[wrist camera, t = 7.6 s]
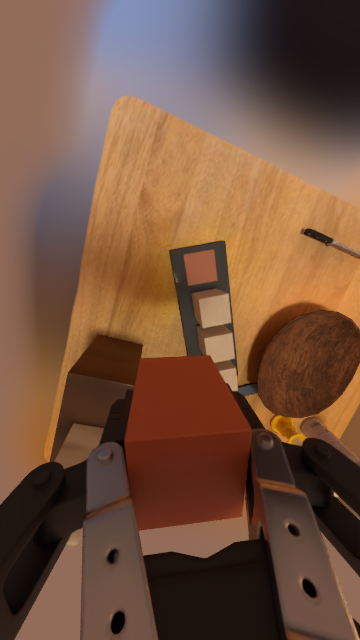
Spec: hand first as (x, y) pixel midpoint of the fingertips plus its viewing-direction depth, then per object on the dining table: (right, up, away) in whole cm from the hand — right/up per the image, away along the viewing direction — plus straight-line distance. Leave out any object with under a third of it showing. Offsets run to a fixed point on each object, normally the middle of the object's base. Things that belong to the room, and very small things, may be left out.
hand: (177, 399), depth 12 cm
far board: (+5, +5, +25) cm, 26 cm away
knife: (+28, +18, +25) cm, 41 cm away
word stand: (-13, -7, +27) cm, 31 cm away
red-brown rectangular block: (0, 0, +1) cm, 1 cm away
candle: (+23, -19, +35) cm, 45 cm away
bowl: (+23, -3, +30) cm, 38 cm away
